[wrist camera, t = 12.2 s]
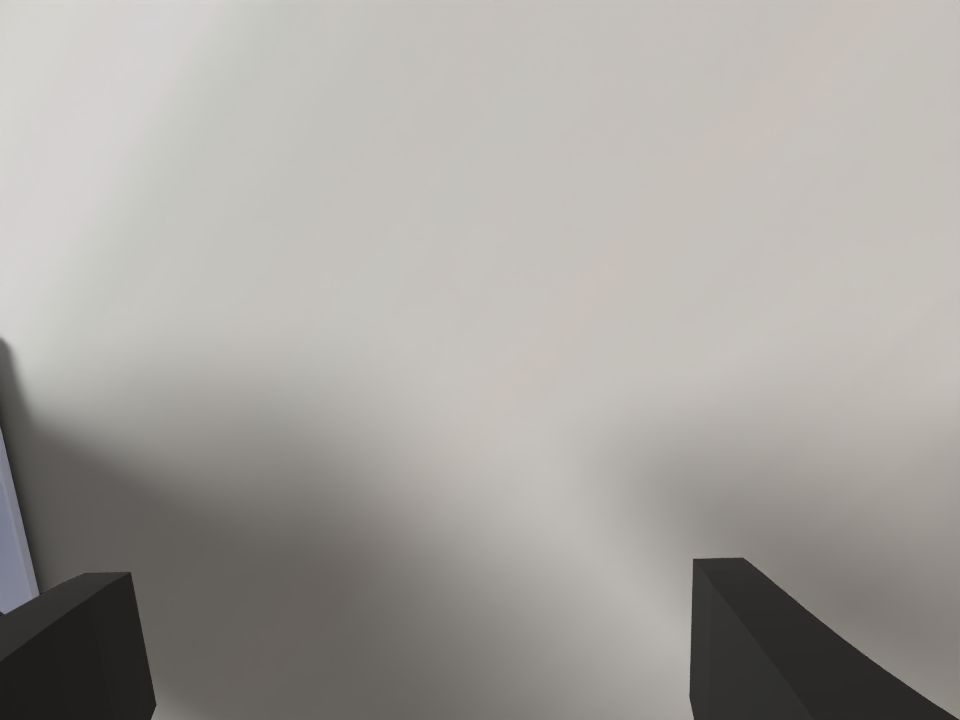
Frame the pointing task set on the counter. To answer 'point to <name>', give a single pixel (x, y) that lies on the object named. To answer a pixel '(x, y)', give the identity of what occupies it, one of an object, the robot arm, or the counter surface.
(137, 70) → the counter surface
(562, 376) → the counter surface
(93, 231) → the counter surface
